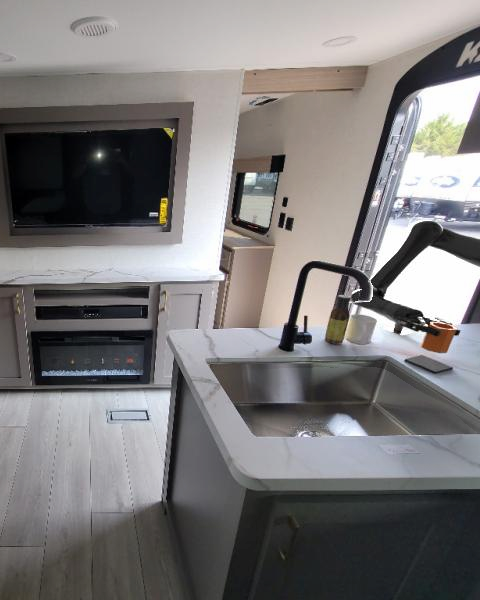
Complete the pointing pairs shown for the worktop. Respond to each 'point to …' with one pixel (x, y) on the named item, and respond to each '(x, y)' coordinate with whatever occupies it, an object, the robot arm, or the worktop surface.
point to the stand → (398, 328)
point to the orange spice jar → (439, 338)
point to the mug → (360, 329)
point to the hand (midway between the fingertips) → (448, 333)
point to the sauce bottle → (338, 321)
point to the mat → (428, 364)
